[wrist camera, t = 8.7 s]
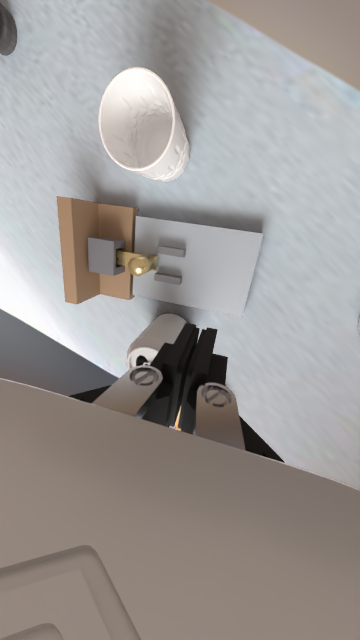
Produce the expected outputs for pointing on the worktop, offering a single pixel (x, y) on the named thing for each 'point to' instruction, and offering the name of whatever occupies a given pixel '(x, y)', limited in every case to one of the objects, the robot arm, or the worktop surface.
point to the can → (154, 339)
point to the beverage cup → (7, 32)
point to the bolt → (136, 261)
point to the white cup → (143, 125)
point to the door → (163, 241)
